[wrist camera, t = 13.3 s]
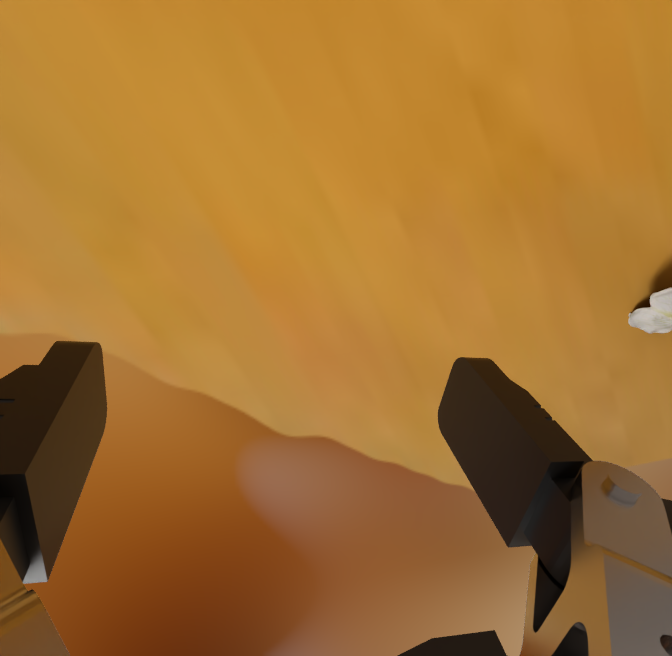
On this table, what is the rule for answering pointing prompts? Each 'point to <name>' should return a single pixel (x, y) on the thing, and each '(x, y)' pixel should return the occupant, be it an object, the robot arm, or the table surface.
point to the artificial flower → (655, 313)
